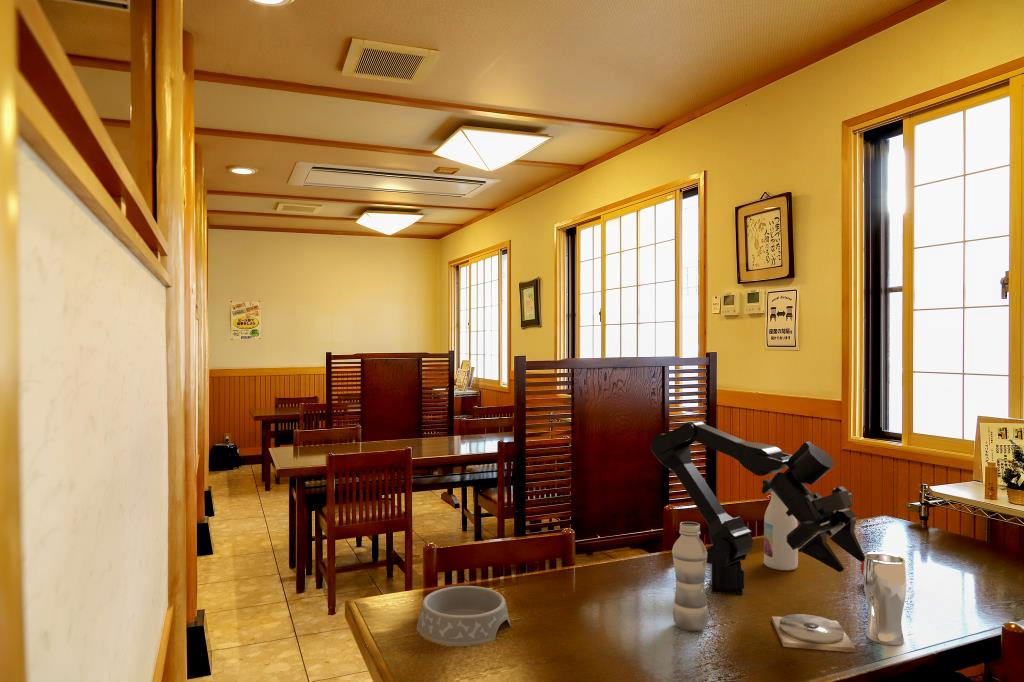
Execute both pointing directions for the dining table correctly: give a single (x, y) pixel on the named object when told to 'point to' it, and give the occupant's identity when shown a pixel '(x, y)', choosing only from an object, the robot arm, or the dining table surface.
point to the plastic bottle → (690, 579)
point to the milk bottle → (778, 536)
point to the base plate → (791, 642)
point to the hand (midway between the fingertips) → (853, 565)
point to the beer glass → (885, 597)
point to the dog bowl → (462, 615)
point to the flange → (811, 629)
